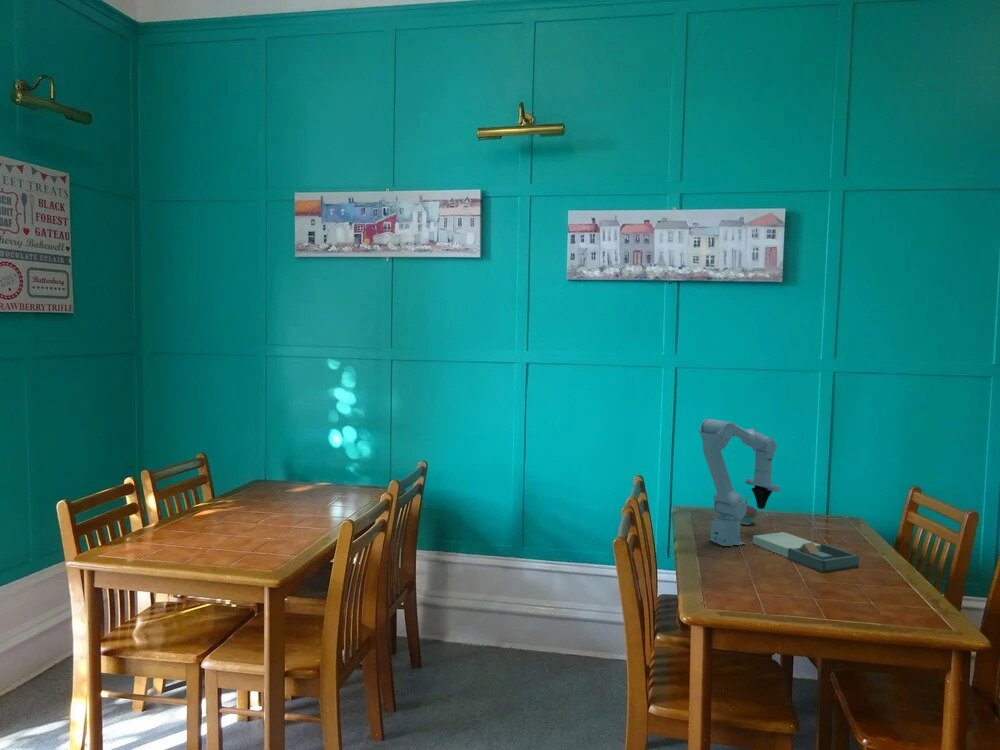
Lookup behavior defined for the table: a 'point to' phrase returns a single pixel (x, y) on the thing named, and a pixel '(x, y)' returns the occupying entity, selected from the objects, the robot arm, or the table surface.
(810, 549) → the tile
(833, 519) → the table surface
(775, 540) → the large sage green panel
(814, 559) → the bin
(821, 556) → the tile
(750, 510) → the cupcake
